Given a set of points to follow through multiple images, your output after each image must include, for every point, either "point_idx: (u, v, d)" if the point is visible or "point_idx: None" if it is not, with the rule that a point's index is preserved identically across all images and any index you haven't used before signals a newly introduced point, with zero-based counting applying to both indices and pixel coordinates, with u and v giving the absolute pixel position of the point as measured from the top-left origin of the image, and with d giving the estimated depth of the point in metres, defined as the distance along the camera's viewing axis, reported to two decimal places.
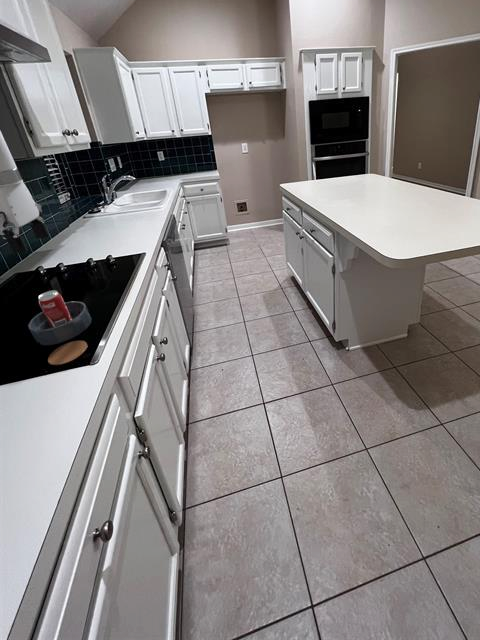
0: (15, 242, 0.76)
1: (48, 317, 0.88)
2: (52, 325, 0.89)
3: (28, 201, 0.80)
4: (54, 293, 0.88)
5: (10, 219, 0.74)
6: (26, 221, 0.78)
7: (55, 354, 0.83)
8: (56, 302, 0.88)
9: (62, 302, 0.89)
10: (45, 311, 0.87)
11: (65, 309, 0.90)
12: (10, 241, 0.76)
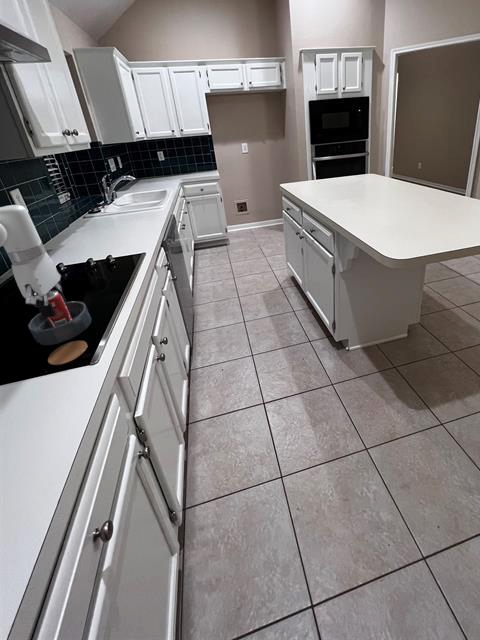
0: (45, 309, 0.85)
1: (48, 317, 0.88)
2: (52, 325, 0.89)
3: (51, 269, 0.87)
4: (54, 293, 0.88)
5: (36, 290, 0.82)
6: (49, 289, 0.86)
7: (55, 354, 0.83)
8: (56, 302, 0.88)
9: (62, 302, 0.89)
10: None
11: (65, 309, 0.90)
12: (41, 308, 0.85)
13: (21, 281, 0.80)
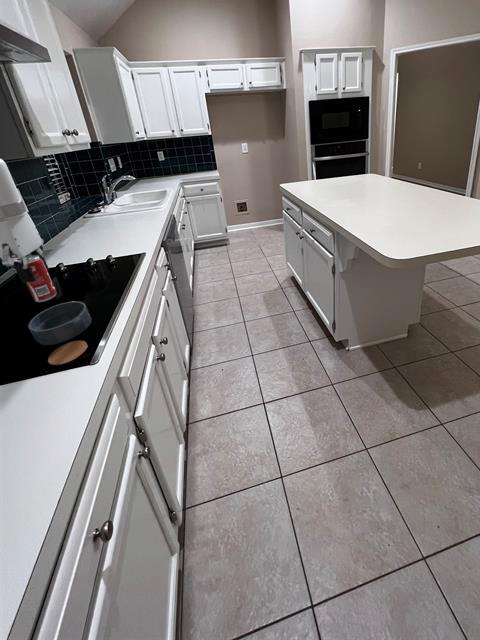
0: (24, 273, 0.80)
1: (28, 283, 0.83)
2: (32, 292, 0.84)
3: (31, 231, 0.81)
4: (35, 257, 0.83)
5: (14, 250, 0.76)
6: (29, 251, 0.80)
7: (55, 354, 0.83)
8: (37, 266, 0.82)
9: (43, 267, 0.84)
10: None
11: (47, 275, 0.85)
12: (20, 272, 0.79)
13: None
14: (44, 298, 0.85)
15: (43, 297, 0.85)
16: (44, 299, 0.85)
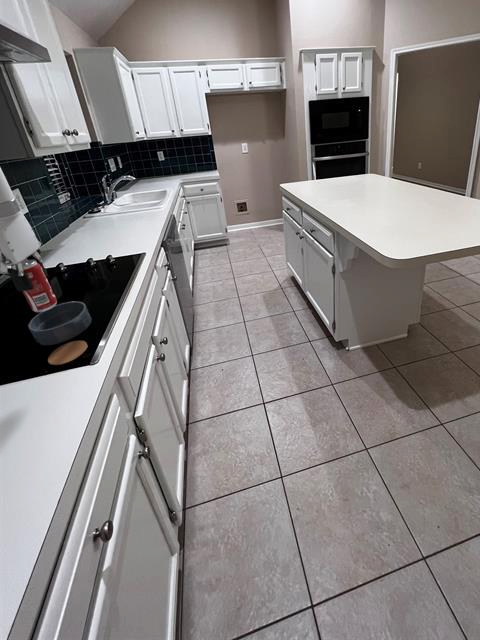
0: (20, 280, 0.71)
1: (24, 291, 0.73)
2: (30, 301, 0.75)
3: (27, 233, 0.72)
4: (32, 262, 0.73)
5: (7, 256, 0.67)
6: (25, 256, 0.71)
7: (55, 354, 0.83)
8: (34, 273, 0.73)
9: (42, 274, 0.75)
10: None
11: (45, 282, 0.76)
12: (15, 279, 0.70)
13: None
14: (44, 307, 0.76)
15: (42, 306, 0.76)
16: (43, 309, 0.76)
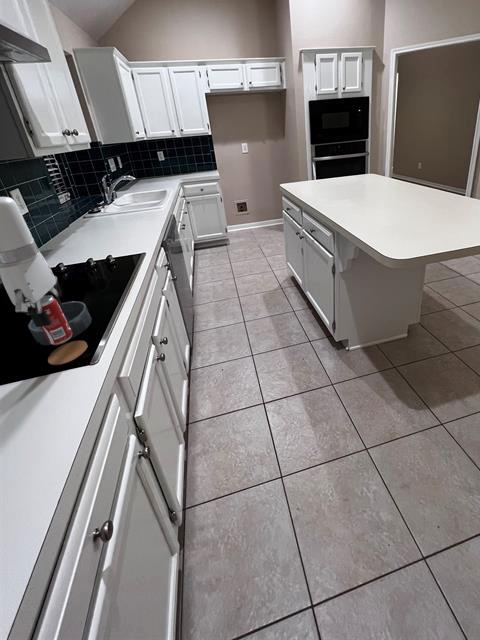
0: (39, 317, 0.74)
1: (42, 326, 0.77)
2: (47, 335, 0.78)
3: (45, 271, 0.76)
4: (49, 299, 0.77)
5: (27, 296, 0.70)
6: (43, 294, 0.74)
7: (55, 354, 0.83)
8: (52, 309, 0.76)
9: (58, 309, 0.78)
10: None
11: (62, 317, 0.79)
12: (34, 316, 0.74)
13: (10, 285, 0.69)
14: (60, 341, 0.79)
15: (59, 340, 0.79)
16: (60, 342, 0.79)
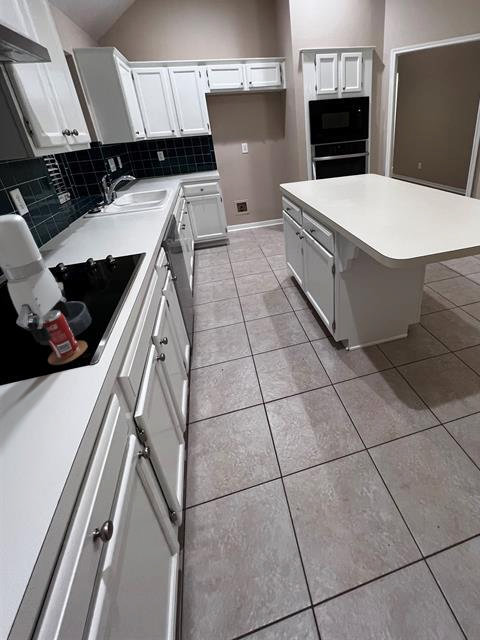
0: (39, 332, 0.74)
1: (49, 340, 0.79)
2: (54, 349, 0.80)
3: (51, 286, 0.77)
4: (56, 313, 0.79)
5: (34, 311, 0.72)
6: (50, 308, 0.76)
7: None
8: (59, 324, 0.78)
9: (65, 323, 0.80)
10: None
11: (68, 331, 0.81)
12: (34, 332, 0.73)
13: (18, 301, 0.71)
14: (67, 354, 0.81)
15: (66, 353, 0.81)
16: (66, 355, 0.81)
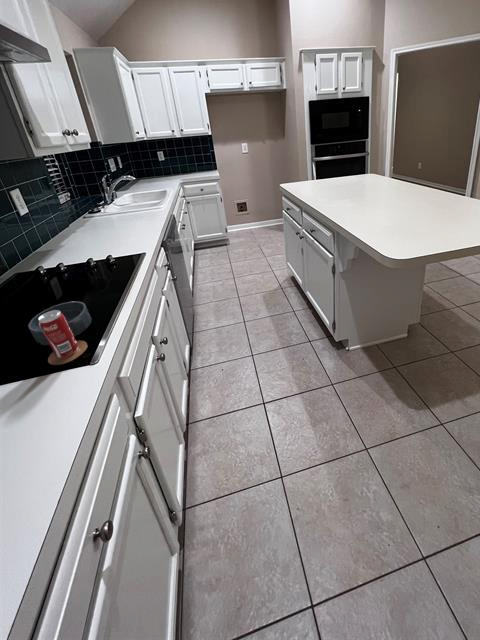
0: None
1: (49, 340, 0.79)
2: (54, 349, 0.80)
3: None
4: (56, 313, 0.79)
5: None
6: None
7: None
8: (59, 324, 0.78)
9: (65, 323, 0.80)
10: (46, 334, 0.78)
11: (68, 331, 0.81)
12: None
13: None
14: (67, 354, 0.81)
15: (66, 353, 0.81)
16: (66, 355, 0.81)
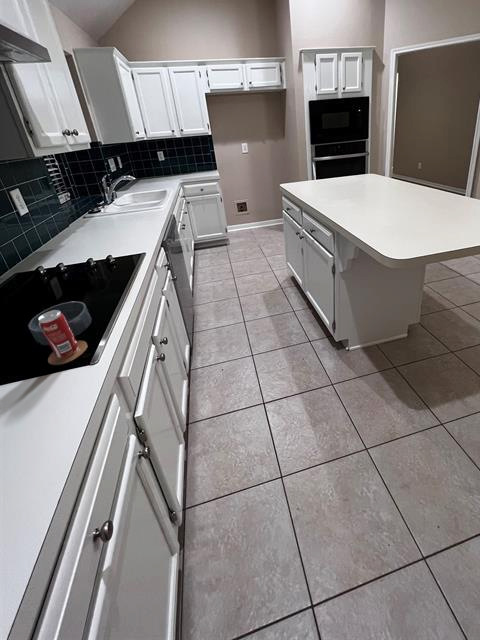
0: None
1: (49, 340, 0.79)
2: (54, 349, 0.80)
3: None
4: (56, 313, 0.79)
5: None
6: None
7: None
8: (59, 324, 0.78)
9: (65, 323, 0.80)
10: (46, 334, 0.78)
11: (68, 331, 0.81)
12: None
13: None
14: (67, 354, 0.81)
15: (66, 353, 0.81)
16: (66, 355, 0.81)
